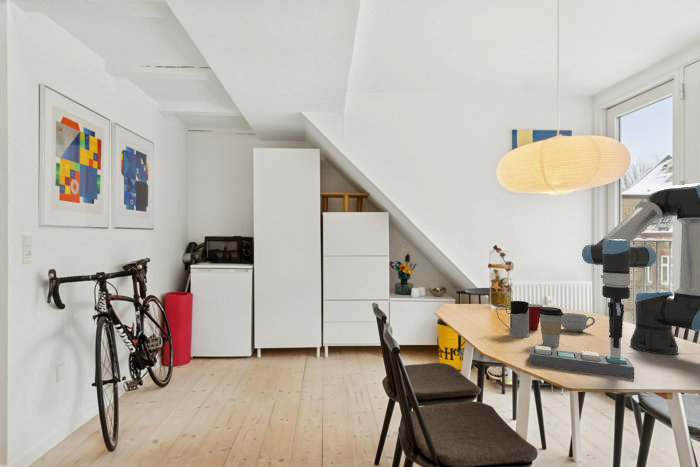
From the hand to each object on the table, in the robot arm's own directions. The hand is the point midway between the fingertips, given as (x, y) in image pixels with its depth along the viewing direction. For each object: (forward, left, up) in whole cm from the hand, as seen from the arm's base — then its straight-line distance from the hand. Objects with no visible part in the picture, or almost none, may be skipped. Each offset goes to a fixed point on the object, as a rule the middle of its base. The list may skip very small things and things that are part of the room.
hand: (615, 356), depth 130 cm
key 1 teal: (0, 0, -3) cm, 3 cm away
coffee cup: (+19, -26, -5) cm, 33 cm away
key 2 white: (+7, 0, -2) cm, 7 cm away
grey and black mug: (+34, -37, -5) cm, 50 cm away
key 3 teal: (+14, 0, -4) cm, 15 cm away
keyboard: (+11, 0, -5) cm, 12 cm away
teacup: (+7, -59, -5) cm, 60 cm away
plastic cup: (+27, -54, -5) cm, 61 cm away
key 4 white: (+21, 0, -2) cm, 22 cm away
